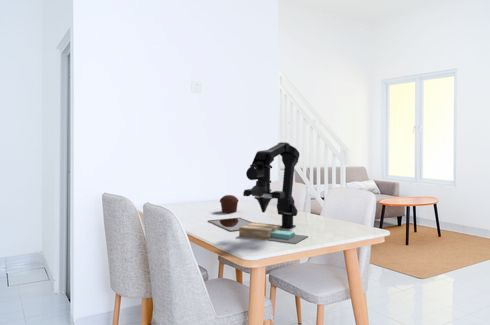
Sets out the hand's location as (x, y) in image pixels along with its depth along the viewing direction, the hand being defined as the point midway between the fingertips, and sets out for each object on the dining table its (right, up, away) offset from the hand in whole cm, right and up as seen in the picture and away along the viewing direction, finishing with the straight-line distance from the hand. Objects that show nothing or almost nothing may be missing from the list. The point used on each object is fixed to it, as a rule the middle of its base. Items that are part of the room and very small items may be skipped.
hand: (263, 212), depth 194 cm
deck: (-2, -11, +2) cm, 11 cm away
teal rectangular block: (+9, -11, -4) cm, 14 cm away
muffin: (-18, -7, +63) cm, 67 cm away
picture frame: (-14, -10, +25) cm, 30 cm away
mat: (+11, -11, -5) cm, 16 cm away
